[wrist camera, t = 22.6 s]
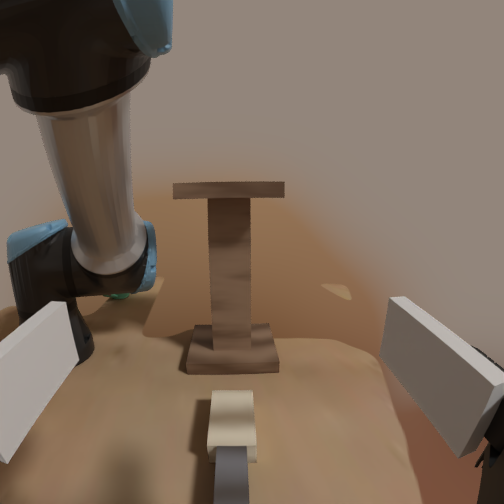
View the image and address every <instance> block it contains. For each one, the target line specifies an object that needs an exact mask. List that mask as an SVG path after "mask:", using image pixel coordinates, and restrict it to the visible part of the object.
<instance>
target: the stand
mask: <svg viewBox="0 0 504 504" xmlns="http://www.w3.org/2000/svg"><path fill="white" fill-rule="evenodd" d="M255 197H256V198H259V197H260V198H265V197H269V198H276V197H277V198H280V197H281V198H282V197H283V198H284V182H200V183H175V184H174V183H173V199H195V198H196V199H198V198H208V240H209V270H210V294H211V313H212V325H195V327H194V331H193V336H192V340H191V344H190V348H189V353H188V357H187V361H186V368H187V374H256V373H276V372H279V358H278V355H277V351H276V347H275V344H274V340H273V336H272V333H271V329H270V326H269V323H266V324H251V254H250V253H251V245H250V244H251V237H250V198H255Z"/></svg>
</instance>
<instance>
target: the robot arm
mask: <svg viewBox="0 0 504 504" xmlns="http://www.w3.org/2000/svg"><path fill="white" fill-rule="evenodd" d="M172 20H173V0H0V75H1V74H6V75H7V76H8V80H9V84H10V88H11V92H12V96H13V99H14V102H15V104H16V105H17V106H18V107H19V108H20V109H21V110H23V111H25V112H27V113H31V114H33V115H36V117H37V122H38V125H39V129H40V133H41V136H42V140H43V143H44V147H45V150H46V153H47V157H48V160H49V163H50V166H51V169H52V172H53V175H54V178H55V181H56V184H57V187H58V189H59V192H60V195H61V198H62V201H63V203H64V206H65V208H66V211H67V214H68V216H69V219H70V221H71V224H72V226H73V227H67V226H68V223H67V222H66V220H65V219H61V220H55V221H51V222H47V223H43V224H39V225H36V226H32V227H29V228H26V229H22V230H19V231H17V232H14V233H12V234H11V235H10V236H9V237H8V240H7V257H8V261H7V263H8V265H9V271H10V276H11V282H12V287H13V292H14V297H15V302H16V306H17V310H18V314H19V327H18V328H17V329H15V330H14V331H13V332H12V333H11V334H9V335H8V336H7V337H6V338H5V339H3V340H2V341H1V342H0V461H1V462H4V463H6V464H8V463H9V461H10V460H11V458H12V456H13V455H14V453H15V452H16V450H17V448H18V447H19V445H20V444H21V442H22V441H23V439H24V438H25V436H26V435H27V433H28V432H29V430H30V429H31V427H32V426H33V424H34V423H35V421H36V420H37V418H38V417H39V415H40V414H41V412H42V411H43V409H44V408H45V407H46V405H47V404H48V402H49V401H50V399H51V398H52V397H53V395H54V394H55V392H56V391H57V390H58V388H59V387H60V385H61V384H62V383H63V381H64V380H65V379H66V377H67V376H68V374H69V373H70V372H71V370H72V369H73V368H74V366H76V365H78V364H80V363H82V362H84V361H85V360H86V359H88V358H89V357H90V356H91V354H92V353H93V351H94V342H93V337H92V334H91V332H90V330H89V328H88V326H87V324H86V323H85V321H84V319H83V317H82V315H81V313H80V312H79V310H78V307H77V302H76V297H84V296H97V295H111V294H124V293H131V294H136V293H138V292H143V291H148V290H150V289H151V288H152V287H153V285H154V282H155V278H156V261H157V251H156V237H155V230H154V227H153V225H152V223H151V222H148V221H143V220H142V219H141V217H140V216H139V215H138V214H137V213H136V212H135V211H134V203H133V189H132V172H131V148H130V91H132V90H133V89H134V88H136V87H137V86H138V85H139V84H140V83H141V82H142V81H143V80H144V79H145V77H146V76H147V74H148V72H149V68H150V60H151V58H156V57H158V56H159V55H164V54H166V53H168V52H169V51H170V50H171V48H172ZM379 356H380V358H381V359H382V360H383V361H384V363H386V365H387V366H388V368H389V369H390V370H391V371H392V372H393V374H394V375H395V376H396V378H397V379H398V380H399V382H400V383H401V384H402V385H403V387H404V388H405V389H406V390H407V392H408V393H409V394H410V396H411V397H412V398H413V399H414V401H415V402H416V403H417V405H418V406H419V407H420V409H421V410H422V411H423V412H424V414H425V415H426V416H427V418H428V419H429V420H430V422H431V423H432V424H433V425H434V427H435V428H436V429H437V431H438V432H439V434H440V435H441V436H442V437H443V439H444V440H445V441H446V442H447V444H448V445H449V447H450V448H451V449H452V451H453V452H454V454H455V455H456V456H457V458H461V457H463V456H465V455H467V454H469V453H472V452H474V451H476V449H477V448H478V446H479V444H480V442H481V441H482V439H483V437H485V438H486V439H487V440H488V441H489V443H488V444H487V446H486V448H485V450H484V451H483V453H482V454H481V456H480V457H479V459H478V461H477V462H476V465H475V467H478V466H479V464H480V463H481V461H483V460H484V461H483V466H482V468H483V469H482V477H481V483H480V490H479V495H478V501H477V504H504V369H503V368H502V367H501V366H499V365H498V364H497V363H494V361H493V360H492V359H491V358H489V357H488V358H487V355H486V354H484V353H483V352H482V351H480V350H479V349H478V348H475V347H473V346H471V345H469V344H467V343H466V342H465V341H464V340H462V339H461V338H460V337H458V336H457V335H456V334H455V333H453V332H452V331H451V330H449V329H448V328H447V327H445V326H444V325H443V324H441V323H440V322H439V321H437V320H436V319H435V318H433V317H432V316H430V315H429V314H428V313H426V312H425V311H424V310H423V309H421V308H420V307H418V306H417V305H416V304H414V303H413V302H412V301H410V300H409V299H407V298H406V297H405V296H403V297H391V298H389V302H388V310H387V315H386V321H385V328H384V333H383V339H382V344H381V349H380V354H379Z"/></svg>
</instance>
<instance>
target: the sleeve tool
mask: <svg viewBox="0 0 504 504" xmlns="http://www.w3.org/2000/svg"><path fill="white" fill-rule="evenodd" d="M207 450H208V457H209V463H216V466H215V484H214V502H213V504H249V485H248V464H247V463H257V443H256V430H255V418H254V405H253V391H252V390H213V391H212V400H211V410H210V419H209V429H208V439H207Z"/></svg>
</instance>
